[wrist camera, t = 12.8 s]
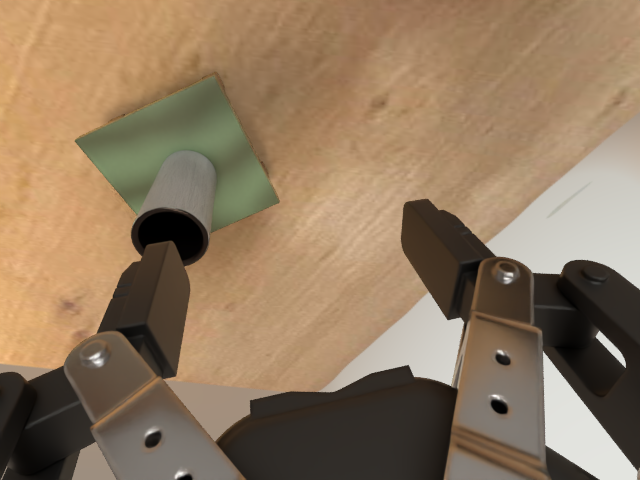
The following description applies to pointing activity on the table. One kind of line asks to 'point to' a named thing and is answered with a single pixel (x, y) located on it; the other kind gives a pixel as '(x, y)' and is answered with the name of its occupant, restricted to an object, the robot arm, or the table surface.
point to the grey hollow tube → (179, 206)
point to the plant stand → (183, 134)
